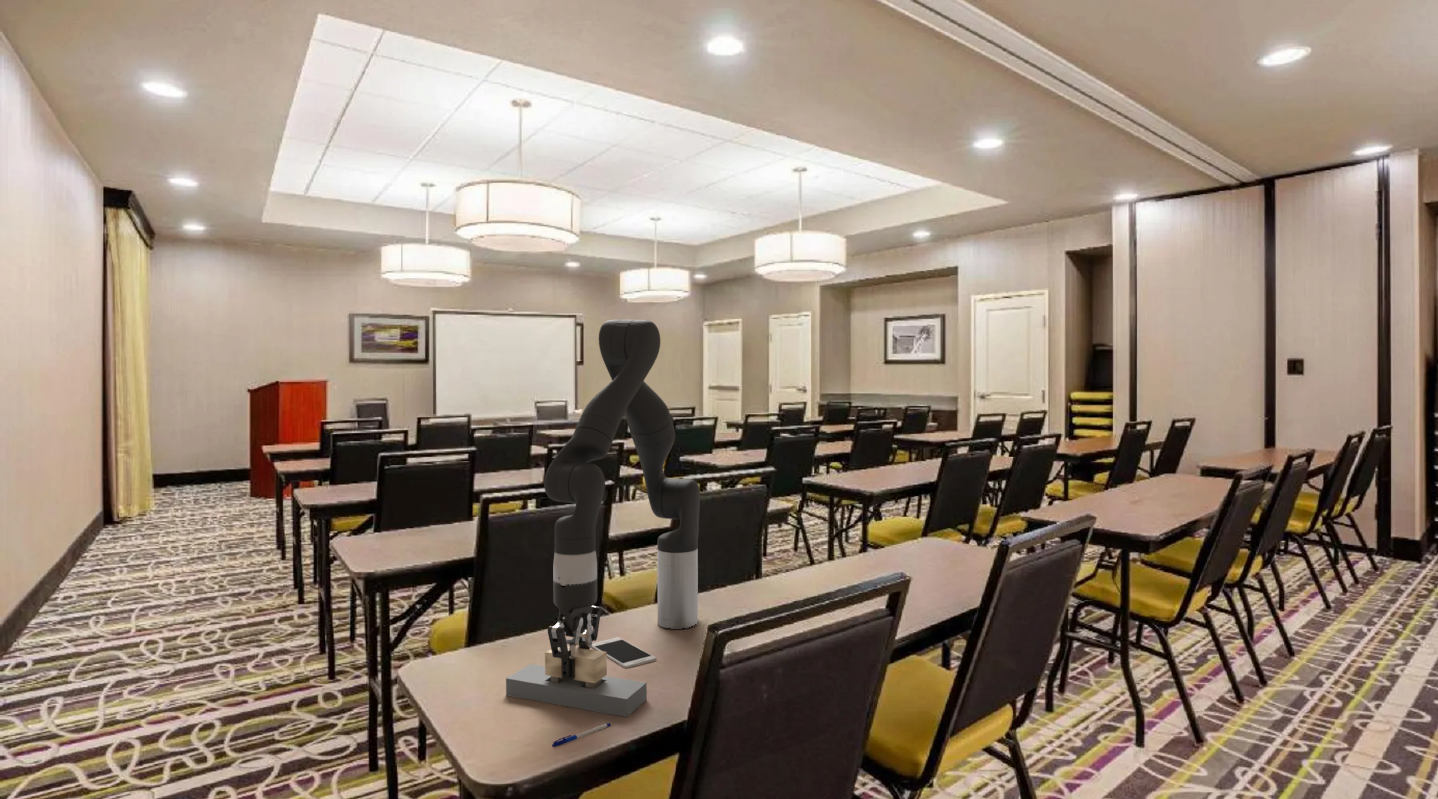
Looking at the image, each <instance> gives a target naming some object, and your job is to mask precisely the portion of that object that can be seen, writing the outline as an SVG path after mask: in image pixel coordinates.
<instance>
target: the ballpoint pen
mask: <svg viewBox="0 0 1438 799" xmlns="http://www.w3.org/2000/svg"><path fill="white" fill-rule="evenodd" d="M610 726H612V723H611V722H609V723H608V722H607V723H604V724H601V725H598V726H595V727H594V728H590V729H587V730H585V731H582V732H580V733H578V734H577V733H576V734H573V735H571V734H570V735H566V736H563V737H561V738H559V739H557V740H555V741H554V742H552V745H551V747H552V748H556V747H559V746H562V745H565V744H567V743H570V742H573V741H576V740H578V739H580V738H583V737H585V736H587V735H590V734H593V733H596V732H599V731H600V730H604V729H606V728H609V727H610Z"/></svg>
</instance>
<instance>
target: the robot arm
mask: <svg viewBox="0 0 1438 799" xmlns="http://www.w3.org/2000/svg"><path fill="white" fill-rule="evenodd" d="M598 346H599V351H600V354H601V359H602V360H603V363H604V366H605V368H606V371H607V372H608V374H609V377H610V378H611V381H610V382H609V383H608V384H607V385H605V387H604V388H602V389H601V390H600V391H599V392H598V393H597V394H595V395H594V397H593V398H592V399H590V401H589V402H588V403H587V404H586V405H585V408H584V410H583V411H582V413H581V415H580V418H579V420H578V422H577V425H576V427H575V429H574V431H573V434H572V436H571V438H570V439H569V440H568V441H567V442H566V443H565V444H564V446H563V447H562V448H561V449H560V451H559V452H558V454H556V456H555V457H554V458H553V460H552V461H551V462H550V464H549V466H548V467H547V469H546V472H545V475H544V481H543V486H544V487H543V488H544V491H545V494H546V495H547V497H548V498H549V499H550V500H552V501H555V502H559V503H569V504H575V507H574V510H573V513H572V514H571V515H565V516H562V517H560V518H558V519H557V520H556V521H555V524H554V556H553V565H552V566H553V567H552V568H553V569H552V570H553V571H552V572H553V573H552V574H553V575H552V576H553V580H552V581H553V583H552V584H553V587H552V588H553V593H552V594H553V596H552V597H553V605H555V607H557V608H558V610H559V612H558V617H557V623H556V624H555V625H550V626H548V628H547V635H548V639H549V644H550V649H551V650H552V655H553V657H555V658H561V668H562V669H561V675H562V678H563V679H566V680H572V679H574V678H575V658H574V655H575V648H583V649H589V650H591V649H592V648H591V646H592V643H594V642H597V639H598V635H599V628H600V619H601V614H602V607H601V606H596V605H594V604H597V602H598V561H597V560H598V559H597V552H596V526H597V522H598V518H599V515H600V510H601V506H602V501H603V499H604V494H605V490H606V480H605V475H604V473H603V470H602V469H601V468H600V467H599V466H598V465H597V464H594V463H592V462H593V461H598V460H601V459H603V458H605V457H606V456H607V455H608V453H609V451H610V448H611V446H612V444H613V441H614V438H615V436H616V434H617V431H618V429H619V426H620V423H621V422H622V419H623V417H624V416H625V419H626V423H627V427H628V429H629V432H630V436H631V440H632V441H633V444H634V445H633V446H634V447H635V449H636V453H637V456H638V459H639V464H640V466H641V469H642V470H641V471H642V473H643V479H644V484H645V487H646V492H647V497H648V501H649V505H650V509H651V511H652V513H653V515H654V516H656V517H657V518H660V519H668V520H680V521H679V522H680V523H679V526H678V528H677V529H675V530H672V531H668V532H665V533H662V534H660V535H659V536H658V537H657V542H656V544H657V548H656V550H657V551H656V552H657V554H656V555H657V561H656V562H657V625H658V626H659V627H660V628H664V629H668V628H670V630H683V629H682V628H685V629H689V627H690V628H692V627H691V626H693V625H695V624H696V625H698V623H697V622H699V618H698V616H699V615H698V614H699V613H698V612H699V609H698V608H699V606H698V605H699V604H698V603H699V590H698V589H699V588H698V587H699V585H698V584H699V583H698V582H699V581H698V579H699V576H698V575H699V571H698V570H699V569H698V568H699V564H698V563H699V562H698V555H699V554H698V553H699V552H698V548H699V547H698V544H699V543H698V541H699V533H700V532H699V528H700V526H699V525H700V522H699V521H700V506H701V503H700V502H701V498H700V497H701V493H700V492H701V491H700V487H699V484H698V482H697V481H696V480H694V479H691V478H675V477H674V478H673V477H672V478H671V477H670V478H669V477H667V476H666V474H665V472H664V464H665V461H666V459H667V457H668V456H669V454H670V452H671V450H672V448H673V445H674V442H675V440H676V431H675V427H674V423H673V418H672V416H671V415H672V414H671V412H670V409H669V408H668V405H667V404H666V403H665V402H664V400H663V399H662V398H661V397H660V395H658V393H656V392H655V391H654V390H653V388H651V387H650V385H648V384H647V383H646V382H645V380H646V378H647V376H648V374H649V373H650V371H651V369H652V368H653V366H654V364H655V362H656V360H657V358H658V356H659V352H660V348H661V335H660V330H659V328H658V326H657V325H656V323H655V322H653V321H651V320H648V319H647V320H646V319H610V320H606V321H604V323H602V324H601V326H600V328H599V333H598ZM624 414H625V415H624ZM696 625H695V626H696ZM693 627H694V626H693ZM566 637H569V638H566ZM568 645H569V647H570V648H569V651H568V647H567V646H568ZM558 647H559V650H558Z"/></svg>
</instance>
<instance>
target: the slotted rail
mask: <svg viewBox="0 0 1438 799" xmlns="http://www.w3.org/2000/svg"><path fill="white" fill-rule="evenodd" d="M505 679H506V680H505V690H506V692H505V695H506V696H508V697H509V696H510V697H514V698H519V699H525V700H530V701H537V702H542V703H548V704H552V705H558V706H565V707H567V708H568V707H569V708H575V709H580V710H585V711H591V712H595V713H597V712H598V713H602V714H607V715H613V716H619V717H623V718H628V717H629V716H630V715H631V714H632V713H634V711H636V710H637V709H638V708H639V707H641V705H643V703H644V702H645V703H646V701H647V698H648V697H647V694H648V692H647V691H648V690H647V689H648V688H647V687H648V686H647V685H648V684H647V682H645V681H639V680H632V679H628V678H627V679H626V678H620V677H615V676H608V675H606V676H604V677H603V678H602V679H601V685H600V686H598V687H597V688H596V689H590V688H586V682H585V681H579V680H566V679H565V680H564V681H562V682H561V683H554V682H551V676H548V675H545V665H539V664H533V663H530V664H529V665H526V666H524V667H523V668H521V669H519V670H518V671H516V672H515V673H513V674H511V675H509V676H508V677H506V678H505Z"/></svg>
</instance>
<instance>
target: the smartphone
mask: <svg viewBox="0 0 1438 799" xmlns="http://www.w3.org/2000/svg"><path fill="white" fill-rule="evenodd" d="M590 649H592V650H596V651H603V652H607V658H608V659H609V660H611V661H612V662H614V663H616V664H617V665H619V666H621V667H622V668H624V669H628V668H632V667H637V666H641V665H643V664H647V663H651V662H654V660H655V661H656V660H657V659H656V656H654V655H653V654H650V653H649V652H647V651H645V650H643V649H641V648H639V647H638V646H636V645H634V644H632V643H630V642H628V641H627V640H625V639H623V638H621V637H619V636H617V637H613V638H609V639H603V640H601V641H595V642H592V646H591V648H590Z"/></svg>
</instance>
